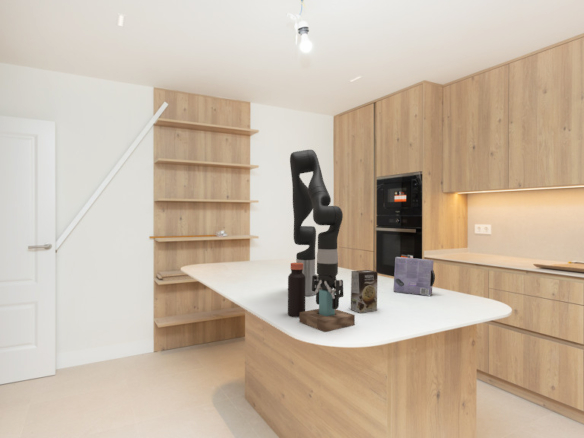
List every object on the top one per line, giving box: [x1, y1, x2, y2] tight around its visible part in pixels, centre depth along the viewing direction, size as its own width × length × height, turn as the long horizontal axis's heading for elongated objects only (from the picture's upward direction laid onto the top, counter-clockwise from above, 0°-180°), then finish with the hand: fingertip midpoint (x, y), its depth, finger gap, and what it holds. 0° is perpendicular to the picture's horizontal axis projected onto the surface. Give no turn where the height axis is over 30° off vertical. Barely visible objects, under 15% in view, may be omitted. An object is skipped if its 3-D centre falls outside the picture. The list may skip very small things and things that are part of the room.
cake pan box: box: [393, 256, 436, 296], centre depth 187 cm, size 19×5×18 cm, turn 58°
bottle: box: [287, 262, 306, 318], centre depth 146 cm, size 7×7×20 cm
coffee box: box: [350, 269, 379, 314], centre depth 153 cm, size 9×6×16 cm
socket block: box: [298, 308, 356, 333], centre depth 134 cm, size 14×14×4 cm
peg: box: [318, 289, 336, 317], centre depth 134 cm, size 4×4×12 cm
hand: (326, 306), depth 134 cm, fingers open, 8 cm apart
